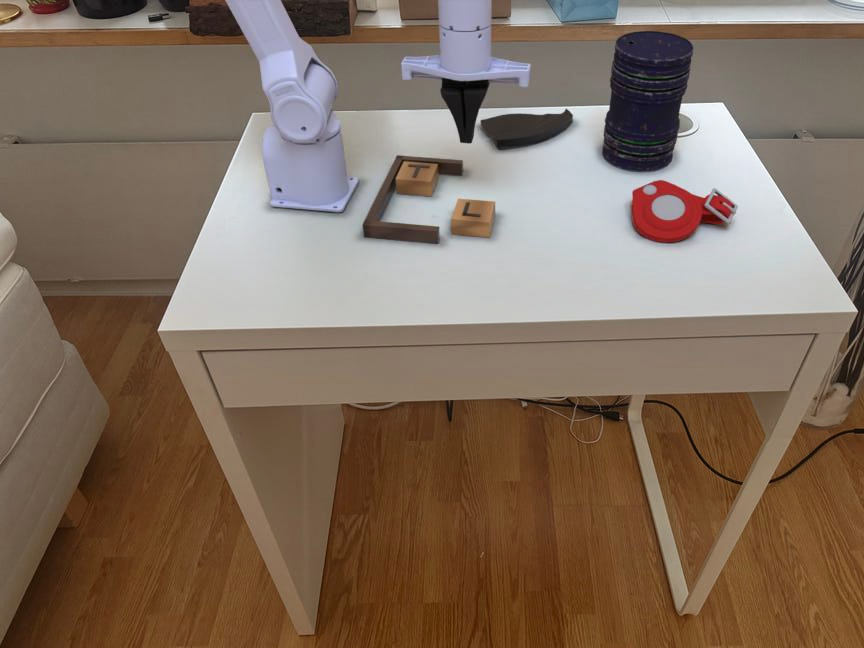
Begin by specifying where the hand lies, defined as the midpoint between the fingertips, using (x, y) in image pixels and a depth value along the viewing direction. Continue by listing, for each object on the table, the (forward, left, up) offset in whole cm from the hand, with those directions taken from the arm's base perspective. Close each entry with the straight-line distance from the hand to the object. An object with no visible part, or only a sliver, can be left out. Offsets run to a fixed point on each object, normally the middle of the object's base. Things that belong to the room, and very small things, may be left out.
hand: (467, 139), depth 89 cm
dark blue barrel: (+21, +14, -8) cm, 27 cm away
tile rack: (-6, -3, -8) cm, 10 cm away
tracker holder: (+26, -3, -8) cm, 28 cm away
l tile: (+2, -7, -8) cm, 11 cm away
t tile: (-7, +1, -8) cm, 10 cm away
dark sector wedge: (+5, +18, -8) cm, 21 cm away
